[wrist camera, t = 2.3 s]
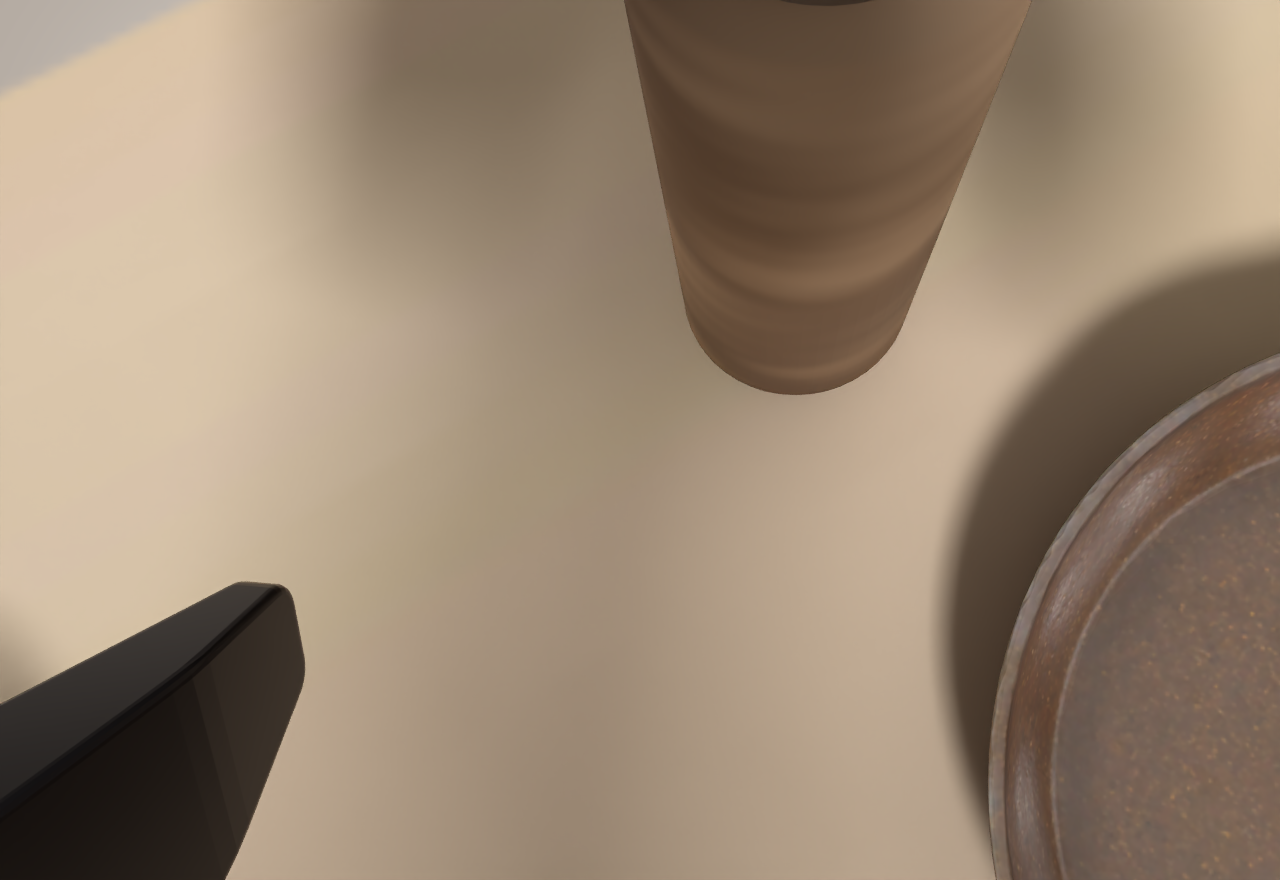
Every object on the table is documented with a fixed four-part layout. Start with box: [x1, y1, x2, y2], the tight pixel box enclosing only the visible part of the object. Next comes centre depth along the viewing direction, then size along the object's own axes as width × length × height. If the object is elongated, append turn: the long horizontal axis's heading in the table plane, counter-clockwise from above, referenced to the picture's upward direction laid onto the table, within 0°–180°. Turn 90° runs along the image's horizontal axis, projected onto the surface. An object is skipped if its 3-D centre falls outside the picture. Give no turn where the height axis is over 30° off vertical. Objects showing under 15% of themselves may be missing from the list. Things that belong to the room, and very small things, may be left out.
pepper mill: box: [624, 0, 1032, 395], centre depth 16 cm, size 5×5×14 cm
